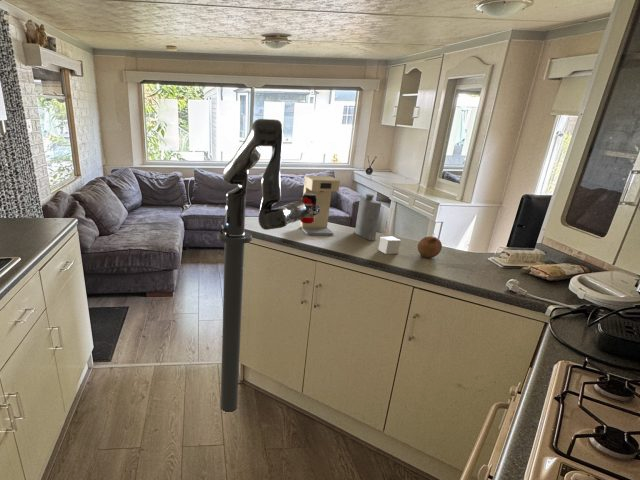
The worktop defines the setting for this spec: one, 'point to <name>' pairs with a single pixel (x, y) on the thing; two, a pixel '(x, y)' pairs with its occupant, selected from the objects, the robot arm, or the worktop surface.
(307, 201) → the beverage can
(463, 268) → the worktop surface
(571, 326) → the worktop surface
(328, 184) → the coffee maker
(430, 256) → the onion
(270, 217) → the robot arm
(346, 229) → the worktop surface
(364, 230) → the hip flask
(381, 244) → the white cube
